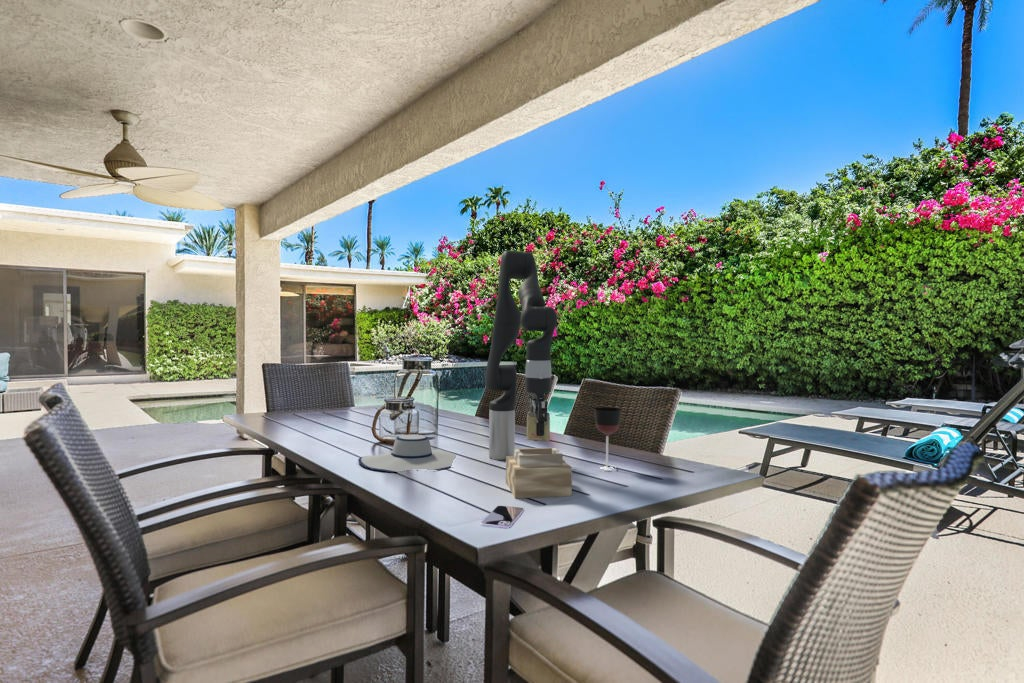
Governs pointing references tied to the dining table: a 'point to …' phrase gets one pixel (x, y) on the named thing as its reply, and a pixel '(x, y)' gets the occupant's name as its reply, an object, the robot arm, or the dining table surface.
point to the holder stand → (538, 473)
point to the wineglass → (607, 425)
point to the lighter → (532, 427)
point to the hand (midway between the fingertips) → (537, 433)
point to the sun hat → (410, 456)
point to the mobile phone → (502, 516)
